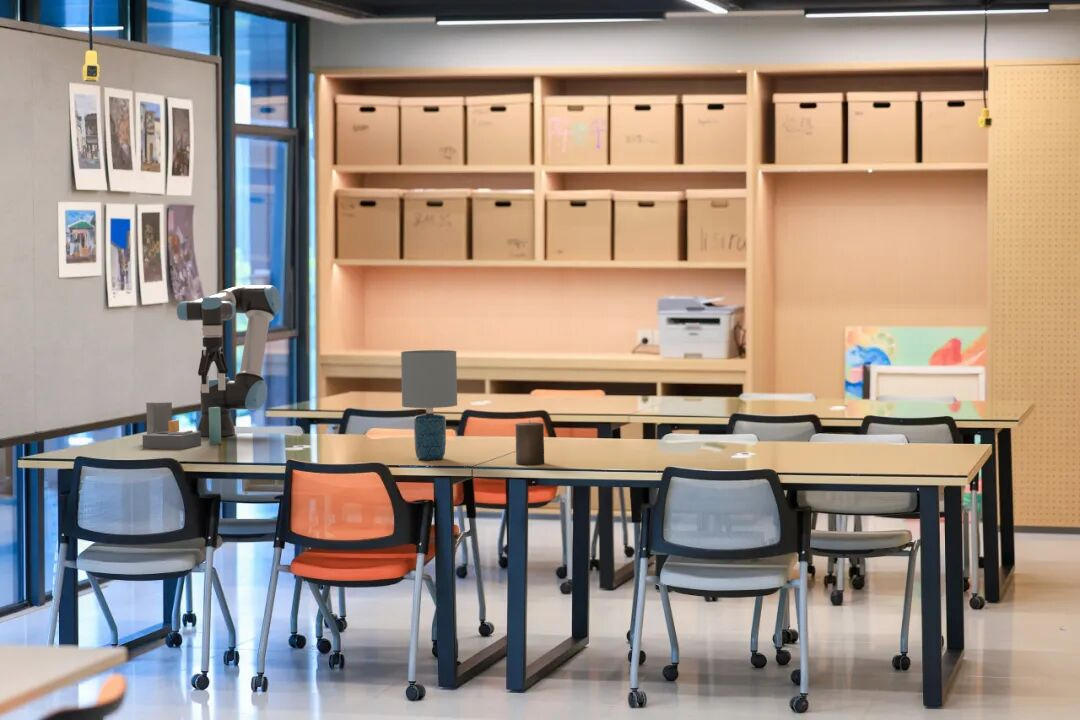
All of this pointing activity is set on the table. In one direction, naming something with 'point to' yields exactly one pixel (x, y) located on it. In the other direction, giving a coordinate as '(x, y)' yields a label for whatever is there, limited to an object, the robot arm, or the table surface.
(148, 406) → the skincare box
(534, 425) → the pillar candle
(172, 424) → the shutter
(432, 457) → the lamp
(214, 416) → the plug peg
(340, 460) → the table surface
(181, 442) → the socket
